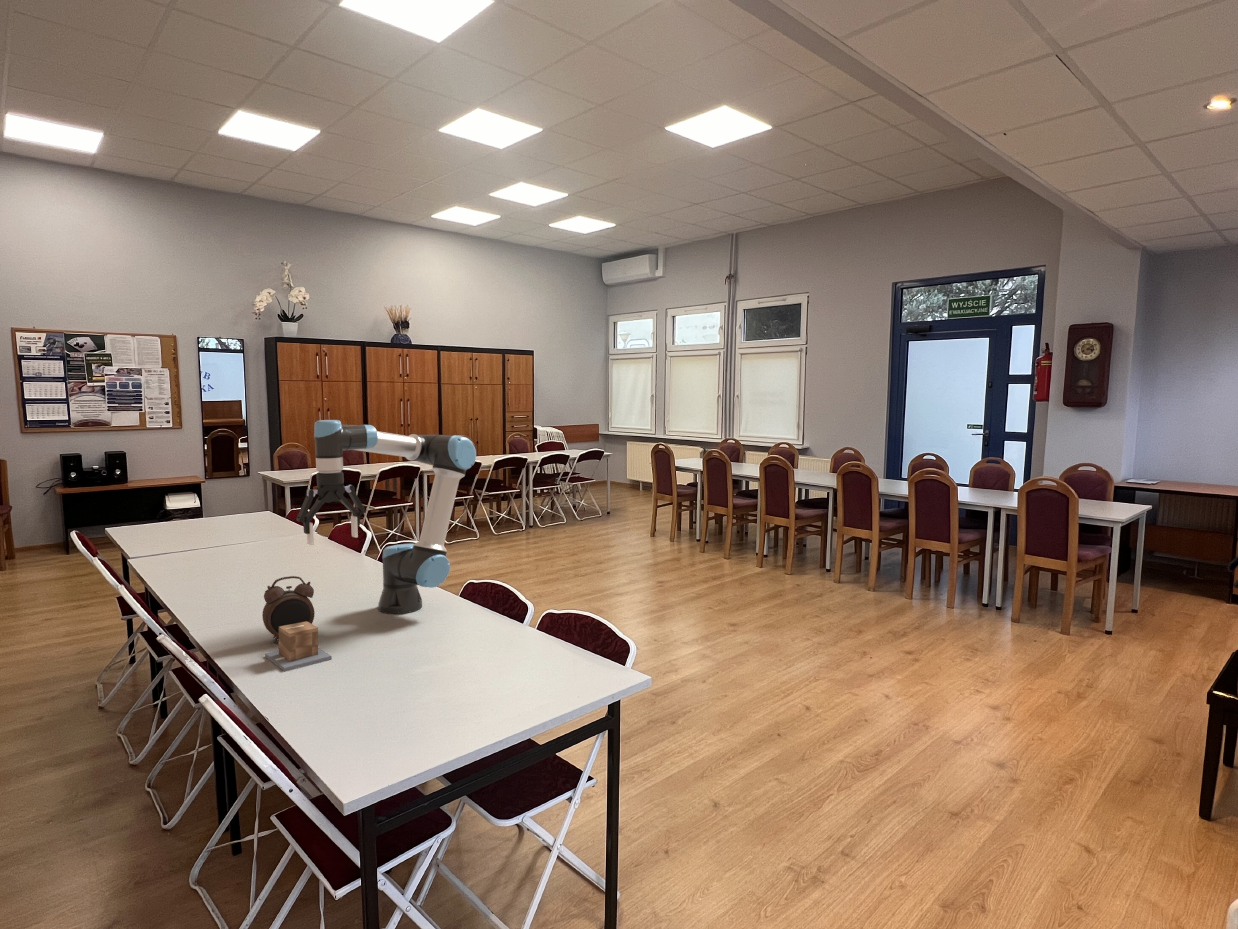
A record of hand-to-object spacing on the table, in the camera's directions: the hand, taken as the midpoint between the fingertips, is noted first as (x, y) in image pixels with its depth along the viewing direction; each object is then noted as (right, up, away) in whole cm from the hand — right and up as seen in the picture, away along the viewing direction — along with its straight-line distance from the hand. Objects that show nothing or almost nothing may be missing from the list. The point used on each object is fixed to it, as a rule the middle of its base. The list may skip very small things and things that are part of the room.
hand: (333, 540), depth 208 cm
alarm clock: (-15, -32, +5) cm, 36 cm away
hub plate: (-6, -33, -10) cm, 35 cm away
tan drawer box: (-6, -32, -10) cm, 34 cm away
